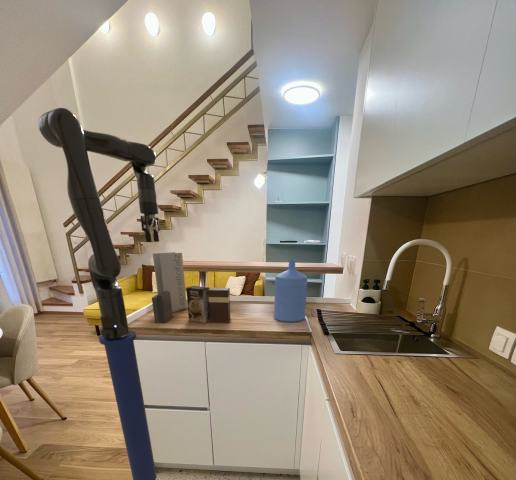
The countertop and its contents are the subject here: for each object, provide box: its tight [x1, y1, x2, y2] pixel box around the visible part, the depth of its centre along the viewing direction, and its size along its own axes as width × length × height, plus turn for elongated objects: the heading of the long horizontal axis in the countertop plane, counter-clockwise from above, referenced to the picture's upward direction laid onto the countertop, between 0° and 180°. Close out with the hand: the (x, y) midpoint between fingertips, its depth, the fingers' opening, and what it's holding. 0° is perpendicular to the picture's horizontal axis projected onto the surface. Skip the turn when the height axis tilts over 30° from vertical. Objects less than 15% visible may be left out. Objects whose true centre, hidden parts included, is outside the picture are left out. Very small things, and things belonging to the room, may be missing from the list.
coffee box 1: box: [185, 285, 210, 324], centre depth 134 cm, size 9×6×16 cm
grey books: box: [151, 291, 173, 324], centre depth 135 cm, size 11×5×13 cm, turn 178°
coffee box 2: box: [208, 287, 231, 324], centre depth 133 cm, size 6×9×16 cm
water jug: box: [273, 260, 308, 323], centre depth 136 cm, size 16×16×28 cm
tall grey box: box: [152, 252, 188, 313], centre depth 148 cm, size 14×6×30 cm, turn 147°
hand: (152, 241), depth 126 cm, fingers open, 8 cm apart
